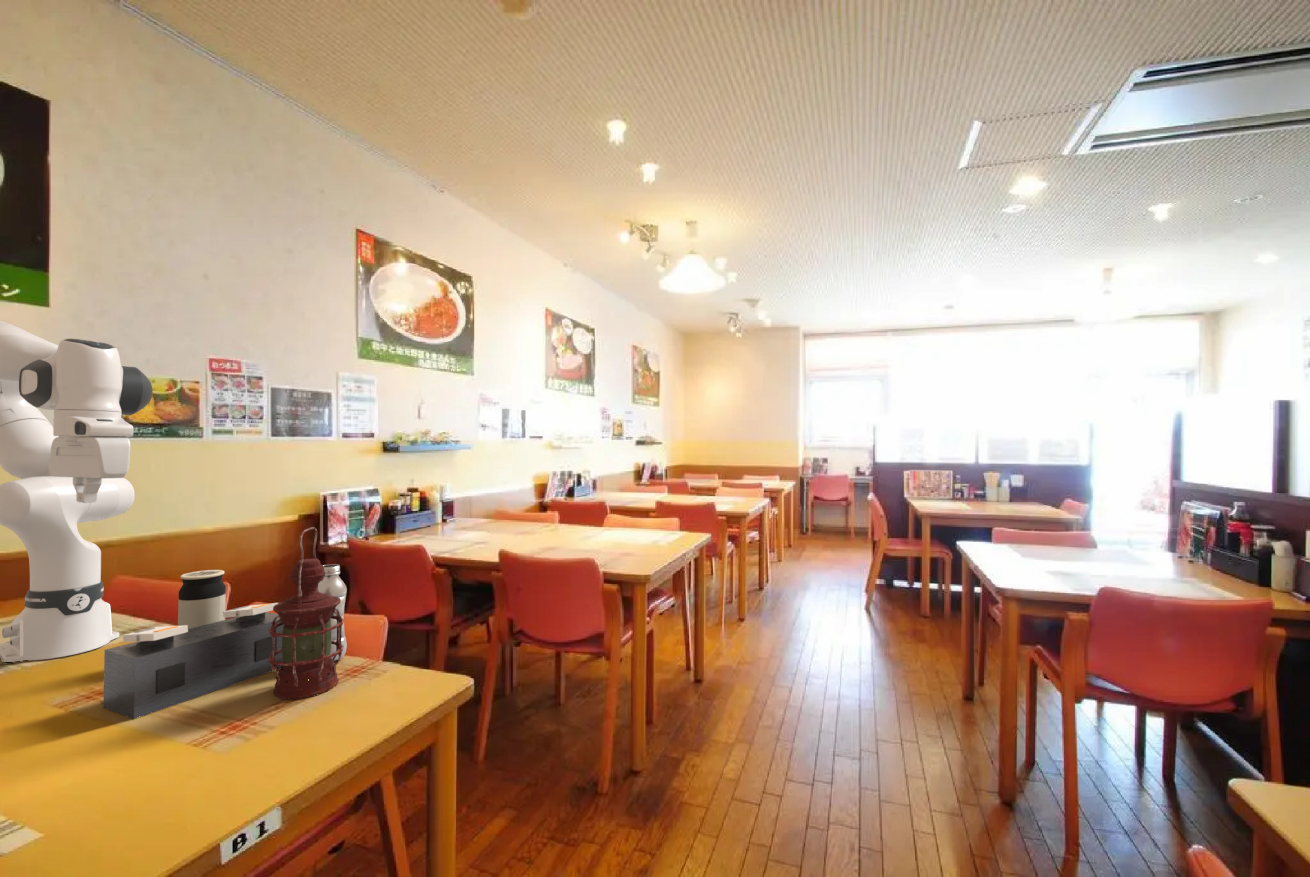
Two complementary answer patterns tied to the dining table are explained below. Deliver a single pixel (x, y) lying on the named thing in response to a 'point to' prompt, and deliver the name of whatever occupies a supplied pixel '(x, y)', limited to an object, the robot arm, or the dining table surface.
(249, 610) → the block
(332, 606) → the lantern
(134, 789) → the dining table surface
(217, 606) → the travel mug
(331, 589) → the silver tall rounded piece
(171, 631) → the rocker on
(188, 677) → the switch box
